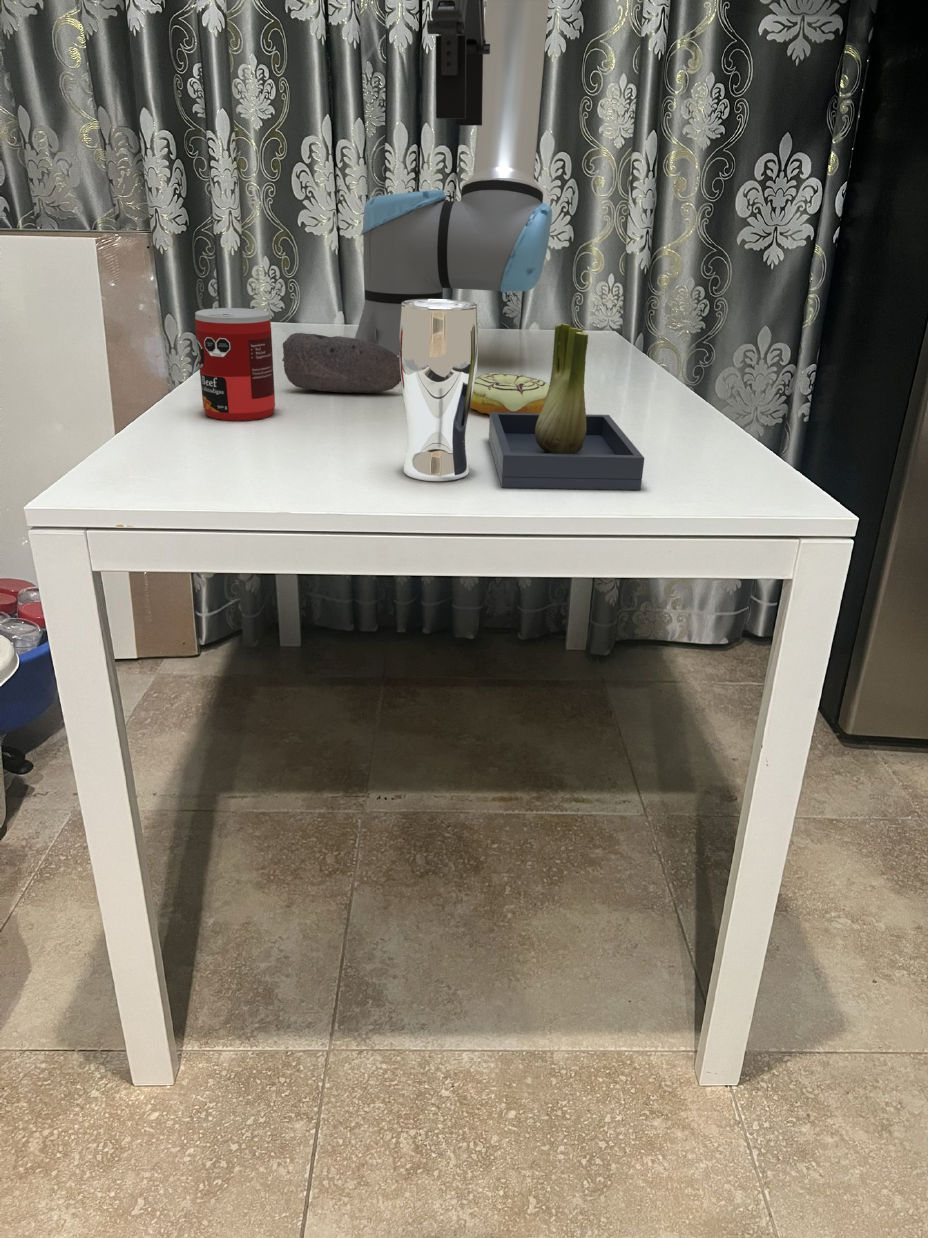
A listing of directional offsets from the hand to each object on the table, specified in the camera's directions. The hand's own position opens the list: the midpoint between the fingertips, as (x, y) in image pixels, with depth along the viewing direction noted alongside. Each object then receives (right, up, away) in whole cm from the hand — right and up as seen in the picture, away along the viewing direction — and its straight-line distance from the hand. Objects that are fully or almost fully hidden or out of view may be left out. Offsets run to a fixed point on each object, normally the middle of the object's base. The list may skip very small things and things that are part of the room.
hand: (460, 122), depth 91 cm
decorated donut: (+6, -25, +18) cm, 31 cm away
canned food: (-25, -27, +12) cm, 39 cm away
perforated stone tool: (-15, -21, +25) cm, 36 cm away
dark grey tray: (+10, -35, -2) cm, 36 cm away
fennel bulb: (+10, -34, -2) cm, 35 cm away
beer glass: (-2, -36, -6) cm, 37 cm away
